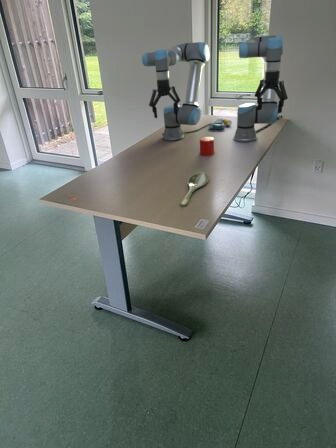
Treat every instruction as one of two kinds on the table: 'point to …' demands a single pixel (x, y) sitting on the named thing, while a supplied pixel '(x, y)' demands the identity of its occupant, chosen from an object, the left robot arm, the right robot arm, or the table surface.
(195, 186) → the spoon
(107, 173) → the table surface
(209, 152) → the canister
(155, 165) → the table surface
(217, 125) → the spray gun
